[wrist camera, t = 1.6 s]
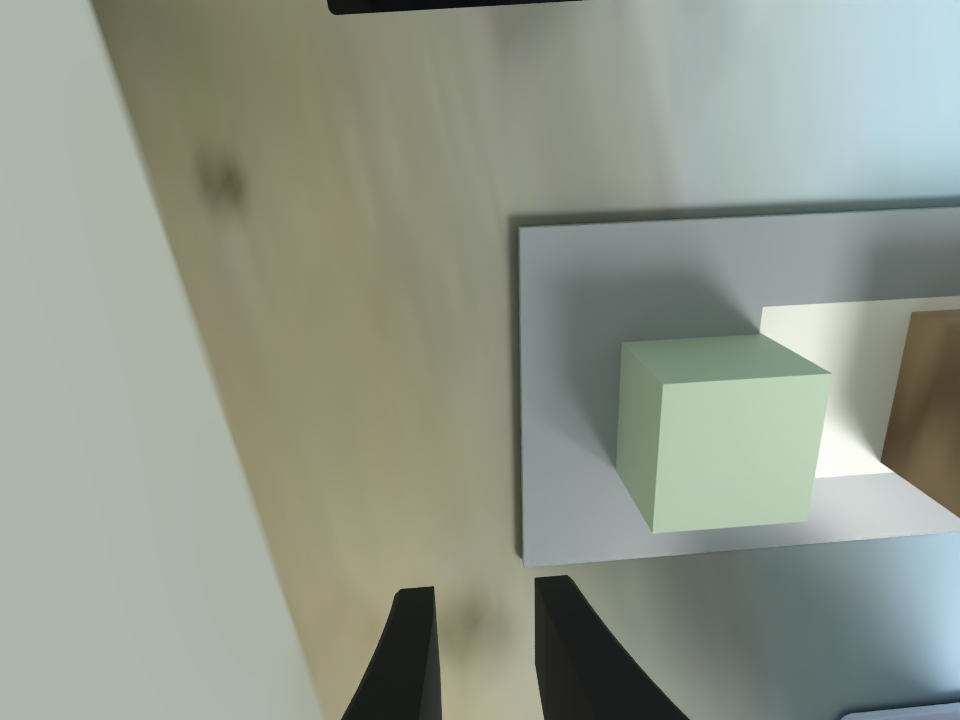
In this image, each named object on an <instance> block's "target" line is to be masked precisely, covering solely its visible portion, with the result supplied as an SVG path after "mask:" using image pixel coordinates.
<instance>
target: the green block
mask: <svg viewBox="0 0 960 720" xmlns="http://www.w3.org/2000/svg"><path fill="white" fill-rule="evenodd" d="M831 378H832V373H830V372H829V371H827V370H825V369H823V368H822V367H820V366H818V365H816V364H815V363H813V362H811V361H809V360H807V359H806V358H804V357H802V356H800V355H799V354H797V353H795V352H793V351H792V350H790V349H788V348H786V347H785V346H783V345H781V344H779V343H777V342H776V341H774V340H772V339H770V338H769V337H767V336H765V335H763V334H753V335H736V336H719V337H702V338H685V339H668V340H651V341H634V342H622V347H621V369H620V391H619V413H618V435H617V457H616V472H617V473H618V475H619V477H620V478H621V480H622V482H623V484H624V485H625V487H626V489H627V491H628V492H629V494H630V496H631V497H632V499H633V501H634V503H635V504H636V506H637V508H638V510H639V511H640V513H641V515H642V516H643V518H644V520H645V522H646V523H647V525H648V527H649V529H650V530H651V532H652V534H654V533H667V532H679V531H692V530H704V529H717V528H729V527H742V526H754V525H767V524H779V523H792V522H804V521H807V519H808V513H809V507H810V501H811V495H812V490H813V484H814V478H815V472H816V466H817V460H818V454H819V449H820V443H821V437H822V431H823V425H824V419H825V413H826V408H827V402H828V396H829V390H830V384H831Z"/></svg>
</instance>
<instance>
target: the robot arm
mask: <svg viewBox="0 0 960 720" xmlns="http://www.w3.org/2000/svg"><path fill="white" fill-rule="evenodd" d="M535 666H536V672H537V679H538V685H539V691H540V697H541V703H542V709H543V715H544V720H690V719H689V718H688V717H687V716H686V715H685V714H684V713H683V712H682V711H681V710H680V709H679V708H678V707H677V706H676V705H675V704H674V703H673V702H672V701H671V700H670V699H669V698H668V697H667V696H666V695H665V694H664V693H663V692H662V690H661V689H660V688H659V687H658V686H657V685H656V684H655V683H654V682H653V681H652V680H651V679H650V678H649V676H648V675H647V674H646V673H645V672H644V671H643V670H642V669H641V667H640V666H639V665H638V664H637V663H636V662H635V660H634V659H633V658H632V657H631V656H630V654H629V653H628V652H627V651H626V650H625V649H624V647H623V646H622V645H621V644H620V643H619V641H618V640H617V639H616V638H615V637H614V635H613V634H612V633H611V632H610V630H609V629H608V628H607V626H606V625H605V624H604V623H603V621H602V620H601V619H600V617H599V616H598V615H597V613H596V612H595V611H594V609H593V608H592V607H591V605H590V604H589V603H588V601H587V600H586V598H585V597H584V596H583V594H582V593H581V591H580V590H579V588H578V587H577V585H576V584H575V582H574V581H573V580H572V579H571V578H570V577H569V576H568V575H562V576H550V577H538V578H535ZM341 720H442V707H441V679H440V662H439V649H438V635H437V621H436V607H435V594H434V586H431V587H419V588H407V589H400V590H399V591H398V592H397V593H396V594H395V596H394V600H393V604H392V608H391V611H390V614H389V617H388V620H387V622H386V625H385V628H384V630H383V633H382V635H381V638H380V640H379V643H378V645H377V648H376V650H375V652H374V654H373V656H372V659H371V661H370V663H369V665H368V667H367V669H366V672H365V674H364V676H363V678H362V680H361V682H360V685H359V687H358V689H357V691H356V693H355V694H354V696H353V698H352V700H351V702H350V704H349V706H348V708H347V709H346V711H345V713H344V715H343V717H342V719H341ZM841 720H960V702H959V703H949V704H939V705H929V706H920V707H910V708H900V709H890V710H880V711H871V712H861V713H851V714H847V715H845V716H844V717H843V718H842V719H841Z"/></svg>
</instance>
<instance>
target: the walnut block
mask: <svg viewBox="0 0 960 720" xmlns="http://www.w3.org/2000/svg"><path fill="white" fill-rule="evenodd" d="M880 463H882V464H883V465H885V466H886V467H888V468H889V469H890V470H892V471H893V472H895V473H896V474H898V475H899V476H900V477H902V478H903V479H905V480H906V481H908V482H909V483H910V484H912V485H913V486H915V487H916V488H917V489H919V490H920V491H922V492H923V493H925V494H926V495H927V496H929V497H930V498H932V499H933V500H935V501H936V502H937V503H939V504H940V505H942V506H943V507H945V508H946V509H947V510H949V511H950V512H952V513H953V514H954V515H956V516H957V517H959V518H960V309H954V310H937V311H919V312H912V313H911V318H910V323H909V327H908V332H907V337H906V342H905V346H904V351H903V356H902V361H901V366H900V370H899V375H898V380H897V385H896V389H895V394H894V399H893V404H892V408H891V413H890V418H889V423H888V428H887V432H886V437H885V442H884V447H883V451H882V456H881V461H880Z"/></svg>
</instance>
